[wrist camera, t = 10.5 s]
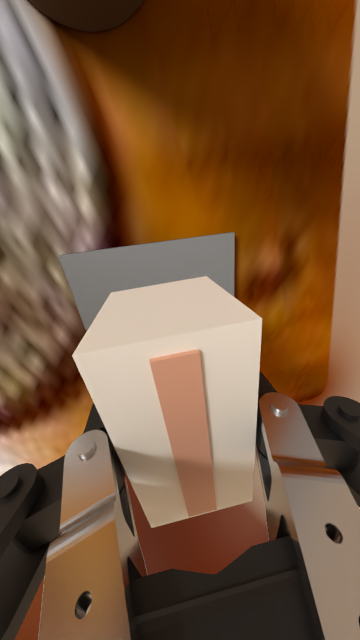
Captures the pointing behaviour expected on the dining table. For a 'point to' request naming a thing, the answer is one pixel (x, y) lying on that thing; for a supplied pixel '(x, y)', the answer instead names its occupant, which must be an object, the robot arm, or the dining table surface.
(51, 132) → the dining table surface
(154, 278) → the mat
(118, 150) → the dining table surface
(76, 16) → the olive oil
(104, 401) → the block
